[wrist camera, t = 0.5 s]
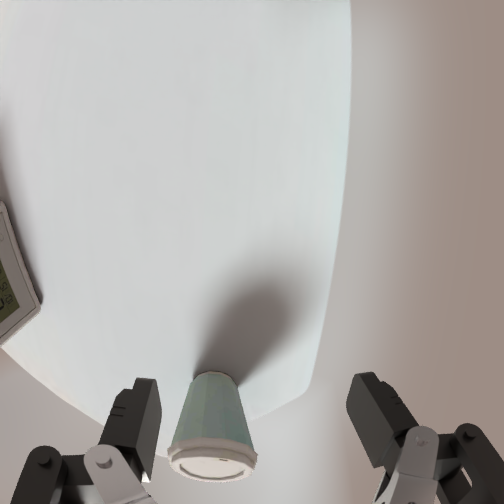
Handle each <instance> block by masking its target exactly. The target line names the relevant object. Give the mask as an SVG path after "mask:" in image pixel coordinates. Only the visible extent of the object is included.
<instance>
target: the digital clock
mask: <svg viewBox="0 0 504 504" xmlns="http://www.w3.org/2000/svg"><path fill="white" fill-rule="evenodd" d="M33 287H34V286H33V284H32V281H31V279H30V276H29V274H28V271H27V269H26V266H25V263H24V260H23V258H22V255H21V252H20V249H19V246H18V243H17V240H16V237H15V233H14V230H13V227H12V225H11V223H10V220H9V216H8V213H7V209H6V206H5V204H4V202H3V201H0V348H1V347H2V346H3V345H4V344H5V343H6V342H7V341H8V340H9V339H10V338H12V337H13V336H14V335H15V334H16V333H17V332H18V331H19V330H21V329H22V328H23V327H24V326H25V325H26V324H27V323H29V322H30V321H31V320H32V319H33V318H34V317H36V316H37V315H38V314H39V312H40V310H41V307H40V303H39V301H38V298H37V296H36V294H35V291H34V289H33Z"/></svg>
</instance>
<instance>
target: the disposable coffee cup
mask: <svg viewBox="0 0 504 504" xmlns="http://www.w3.org/2000/svg"><path fill="white" fill-rule="evenodd" d="M167 451H168V459H169V464H170V466H171V467H172V468H173V470H174V471H176V472H178V473H179V474H181V475H182V476H184V477H187V478H191V479H195V480H198V481H203V482H218V483H222V482H230V481H237V480H240V479H243V478H245V477H248V476H250V475H251V473H252V471H253V470H254V468H255V465H256V462H257V455H258V454H257V453H256V452H255V451H254V448H253V444H252V441H251V437H250V434H249V430H248V426H247V422H246V419H245V415H244V411H243V407H242V404H241V400H240V396H239V392H238V388H237V386H236V384H235V383H234V381H233V380H232V379H231V377H230V376H228V375H226V374H223V373H221V372H212V371H208V372H205V373H202V374H199V375H198V376H197V377H196V378H195V379H194V380H193V382H192V383H191V384H190V387H189V390H188V393H187V396H186V399H185V403H184V406H183V409H182V412H181V415H180V418H179V421H178V425H177V428H176V431H175V434H174V437H173V441H172V444H171V447H169V448H168V449H167Z"/></svg>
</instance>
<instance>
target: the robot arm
mask: <svg viewBox="0 0 504 504" xmlns="http://www.w3.org/2000/svg"><path fill="white" fill-rule="evenodd" d="M346 408H347V412H348V415H349V417H350V419H351V421H352V423H353V425H354V427H355V429H356V432H357V434H358V436H359V438H360V440H361V442H362V444H363V446H364V448H365V451H366V453H367V455H368V457H369V459H370V461H371V463H372V466H373V467H374V468H377V467H380V466H384V467H385V471H384V473H383V475H382V478H381V481H380V484H379V486H378V489H377V491H376V494H375V496H374V499H373V501H372V504H434V500H435V495H436V494H437V496H438V498H439V500H440V502H441V504H504V461H503V460H502V458H501V457H500V456H499V454H498V453H497V451H496V450H495V448H494V447H493V446H492V444H491V443H490V442H489V440H488V439H487V437H486V436H485V435H484V433H483V432H482V430H481V429H480V428H479V427H477V426H476V425H473V424H470V423H465V424H462V425H460V426H459V427H458V428H457V429H456V431H455V432H454V433H453V434H437V433H436V432H435V431H434V430H433V429H431V428H429V427H426V426H419V424H418V423H417V422H416V420H415V419H414V417H413V416H412V414H411V413H410V411H409V410H408V408H407V407H406V406H405V404H403V401H402V400H401V398H400V397H398V394H397V393H396V391H395V390H394V389H393V387H391V386H390V385H389V384H387V383H386V382H384V381H382V382H380V381H379V379H378V378H377V376H376V375H375V373H374V372H366V373H359V374H355V375H354V377H353V380H352V384H351V387H350V391H349V394H348V397H347V401H346ZM161 417H162V409H161V402H160V397H159V392H158V387H157V382H156V380H155V379H147V378H136V380H135V383H134V386H133V389H123V390H122V391H121V392H120V393H119V394H118V395H117V396H116V398H115V401H114V403H113V408H112V409H111V411H110V415H109V416H108V419H107V422H106V424H105V427H104V430H103V433H102V435H101V438H100V441H99V443H98V445H96V446H94V447H91V448H90V449H89V450H88V451H87V452H86V453H85V454H84V455H69V456H68V455H67V456H66V455H63V456H61V455H60V453H59V452H58V451H57V450H56V449H55V448H53V447H50V446H39V447H36V448H35V449H33V450H32V451H31V452H30V454H29V456H28V458H27V460H26V463H25V465H24V468H23V470H22V473H21V475H20V478H19V481H18V483H17V486H16V489H15V491H14V494H13V497H12V500H11V503H10V504H157V503H156V502H155V500H154V499H153V498H152V497H151V496H150V495H149V494H148V493H147V492H146V490H145V489H144V487H143V486H142V485H141V482H150V480H151V474H152V468H153V461H154V456H155V450H156V445H157V439H158V434H159V429H160V424H161ZM463 467H464V469H465V470H466V472H467V474H468V475H469V477H470V479H471V481H472V488H471V486H470V484H469V482H468V481H467V479H466V477H465V475H464V474H463V472H462V470H461V469H462V468H463Z"/></svg>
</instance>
